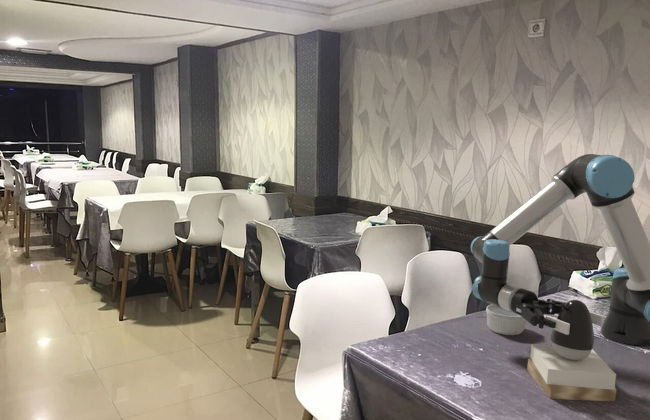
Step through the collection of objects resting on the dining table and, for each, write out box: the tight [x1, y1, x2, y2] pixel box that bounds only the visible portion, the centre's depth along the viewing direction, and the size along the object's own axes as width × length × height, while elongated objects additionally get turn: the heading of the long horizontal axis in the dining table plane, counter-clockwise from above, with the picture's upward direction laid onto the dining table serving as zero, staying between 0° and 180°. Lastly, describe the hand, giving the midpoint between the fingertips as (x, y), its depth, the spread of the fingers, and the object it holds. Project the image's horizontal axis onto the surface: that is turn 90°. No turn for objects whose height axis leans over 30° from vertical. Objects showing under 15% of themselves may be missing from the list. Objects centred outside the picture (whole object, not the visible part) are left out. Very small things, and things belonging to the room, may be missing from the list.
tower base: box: [526, 358, 617, 402], centre depth 138 cm, size 16×16×4 cm
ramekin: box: [485, 304, 527, 336], centre depth 176 cm, size 13×13×7 cm
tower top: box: [529, 343, 617, 390], centre depth 137 cm, size 16×16×4 cm
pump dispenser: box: [550, 299, 595, 360], centre depth 136 cm, size 10×10×15 cm
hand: (586, 325), depth 133 cm, fingers open, 13 cm apart
